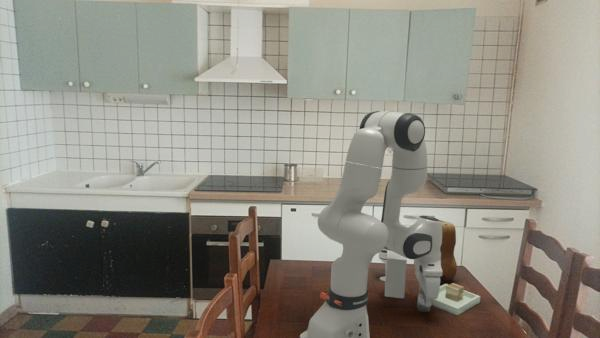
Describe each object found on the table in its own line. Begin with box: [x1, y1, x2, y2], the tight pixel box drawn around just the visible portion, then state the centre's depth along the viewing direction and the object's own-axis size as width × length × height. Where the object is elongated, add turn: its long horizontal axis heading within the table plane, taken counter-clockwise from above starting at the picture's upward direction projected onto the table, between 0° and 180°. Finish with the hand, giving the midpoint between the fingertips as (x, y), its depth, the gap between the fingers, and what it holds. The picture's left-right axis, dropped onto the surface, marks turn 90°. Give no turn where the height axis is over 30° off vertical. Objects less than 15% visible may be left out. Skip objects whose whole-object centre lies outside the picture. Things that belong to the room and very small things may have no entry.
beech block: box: [445, 282, 465, 302], centre depth 160 cm, size 4×4×4 cm
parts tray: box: [431, 283, 481, 316], centre depth 159 cm, size 16×14×2 cm
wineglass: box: [378, 249, 387, 282], centre depth 178 cm, size 7×7×12 cm
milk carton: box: [384, 250, 408, 299], centre depth 163 cm, size 7×7×19 cm
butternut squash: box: [439, 219, 458, 284], centre depth 177 cm, size 14×13×25 cm
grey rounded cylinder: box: [416, 292, 431, 313], centre depth 152 cm, size 4×4×5 cm
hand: (424, 299), depth 153 cm, fingers open, 8 cm apart
